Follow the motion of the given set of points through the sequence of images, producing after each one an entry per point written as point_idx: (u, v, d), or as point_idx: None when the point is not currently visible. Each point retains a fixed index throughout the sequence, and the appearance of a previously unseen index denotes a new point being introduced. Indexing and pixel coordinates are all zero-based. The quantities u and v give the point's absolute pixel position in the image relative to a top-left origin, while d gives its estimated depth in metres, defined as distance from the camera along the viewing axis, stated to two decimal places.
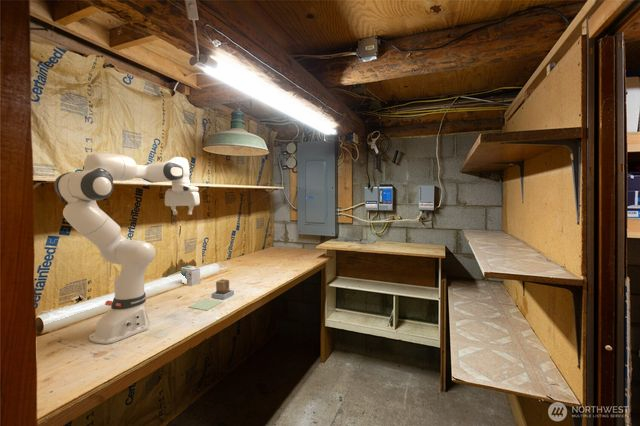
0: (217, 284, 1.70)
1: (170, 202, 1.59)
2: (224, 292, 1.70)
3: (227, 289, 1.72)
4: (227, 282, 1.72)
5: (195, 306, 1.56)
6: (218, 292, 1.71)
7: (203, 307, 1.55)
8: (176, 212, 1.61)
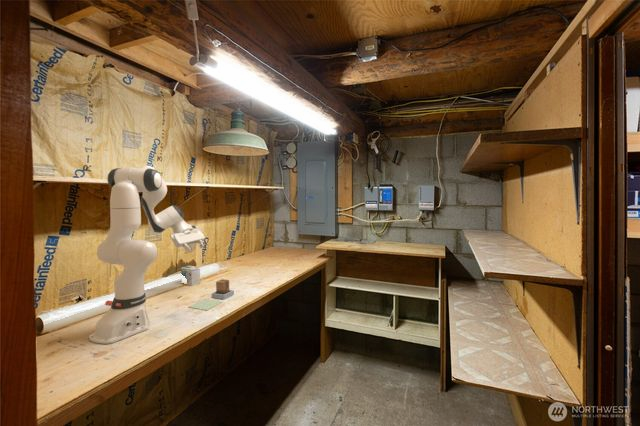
0: (217, 284, 1.70)
1: (184, 240, 1.73)
2: (224, 292, 1.70)
3: (227, 289, 1.72)
4: (227, 282, 1.72)
5: (195, 306, 1.56)
6: (218, 292, 1.71)
7: (203, 307, 1.55)
8: None
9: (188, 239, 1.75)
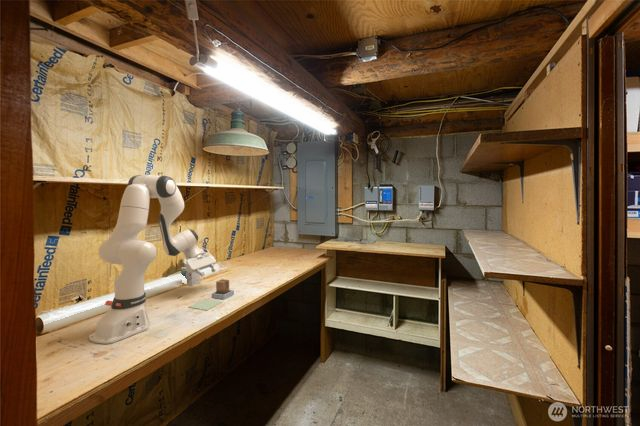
0: (217, 284, 1.70)
1: (197, 265, 1.71)
2: (224, 292, 1.70)
3: (227, 289, 1.72)
4: (227, 282, 1.72)
5: (195, 306, 1.56)
6: (218, 292, 1.71)
7: (203, 307, 1.55)
8: None
9: (200, 264, 1.73)
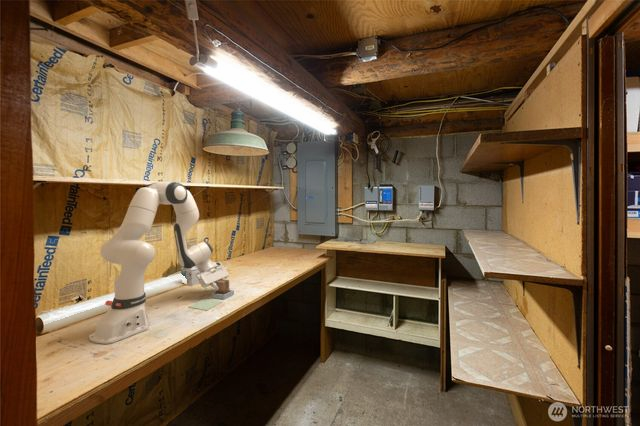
0: (217, 284, 1.70)
1: (210, 279, 1.68)
2: (224, 292, 1.70)
3: (227, 289, 1.72)
4: (227, 282, 1.72)
5: (195, 306, 1.56)
6: (218, 292, 1.71)
7: (203, 307, 1.55)
8: None
9: (214, 278, 1.71)
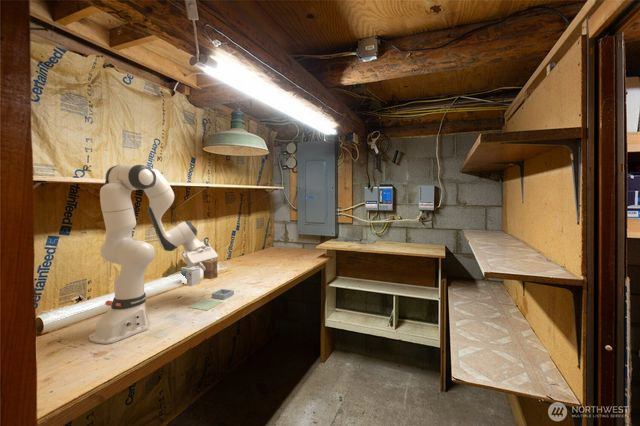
0: (204, 264, 1.60)
1: (197, 259, 1.58)
2: (211, 273, 1.60)
3: (215, 270, 1.62)
4: (215, 263, 1.62)
5: (195, 306, 1.56)
6: (205, 273, 1.60)
7: (203, 307, 1.55)
8: None
9: (201, 258, 1.61)
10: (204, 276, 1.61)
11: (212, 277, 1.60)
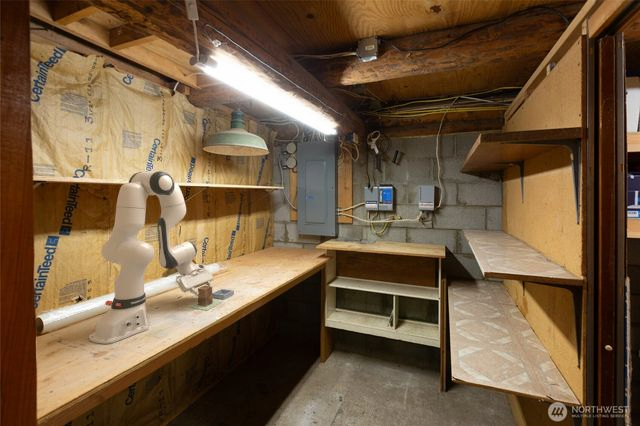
0: (199, 291, 1.57)
1: (191, 283, 1.55)
2: (206, 300, 1.57)
3: (210, 296, 1.59)
4: (210, 289, 1.59)
5: (195, 306, 1.56)
6: (200, 300, 1.57)
7: (203, 307, 1.55)
8: None
9: (195, 282, 1.57)
10: (199, 303, 1.58)
11: (207, 304, 1.57)
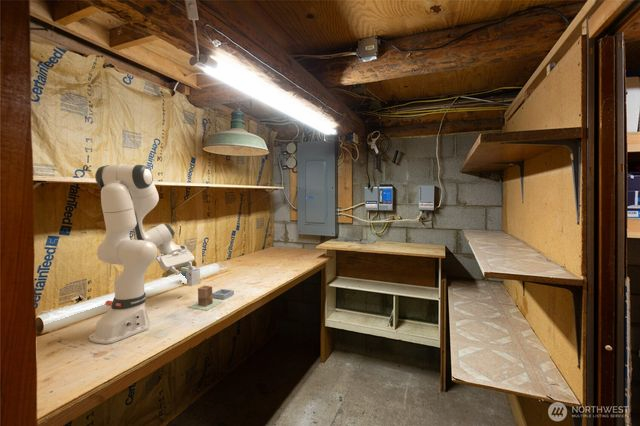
0: (199, 291, 1.57)
1: (171, 262, 1.59)
2: (206, 300, 1.57)
3: (210, 296, 1.59)
4: (210, 289, 1.59)
5: (195, 306, 1.56)
6: (200, 300, 1.57)
7: (203, 307, 1.55)
8: None
9: (176, 261, 1.61)
10: (199, 303, 1.58)
11: (207, 304, 1.57)
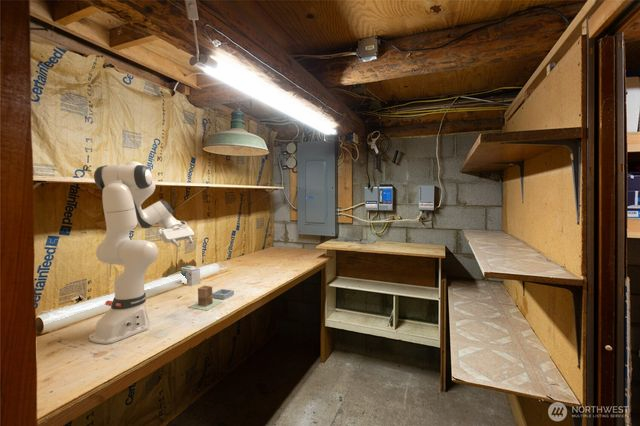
0: (199, 291, 1.57)
1: (172, 235, 1.68)
2: (206, 300, 1.57)
3: (210, 296, 1.59)
4: (210, 289, 1.59)
5: (195, 306, 1.56)
6: (200, 300, 1.57)
7: (203, 307, 1.55)
8: None
9: (177, 235, 1.70)
10: (199, 303, 1.58)
11: (207, 304, 1.57)
